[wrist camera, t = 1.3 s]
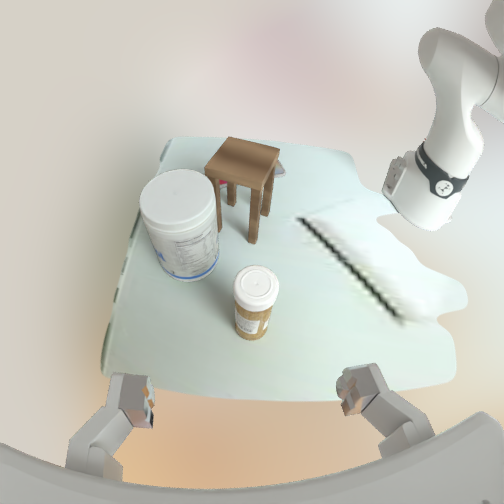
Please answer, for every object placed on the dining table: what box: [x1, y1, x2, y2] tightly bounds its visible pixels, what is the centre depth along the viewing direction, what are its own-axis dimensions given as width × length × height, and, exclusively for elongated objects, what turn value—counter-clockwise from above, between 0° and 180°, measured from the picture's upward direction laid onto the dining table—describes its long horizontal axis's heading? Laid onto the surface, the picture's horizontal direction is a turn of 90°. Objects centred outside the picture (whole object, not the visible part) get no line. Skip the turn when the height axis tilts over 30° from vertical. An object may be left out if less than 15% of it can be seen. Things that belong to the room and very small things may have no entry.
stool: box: [204, 137, 280, 244], centre depth 43 cm, size 8×8×14 cm
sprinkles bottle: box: [233, 265, 279, 340], centre depth 33 cm, size 5×5×14 cm
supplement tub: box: [139, 169, 219, 282], centre depth 38 cm, size 10×10×15 cm
